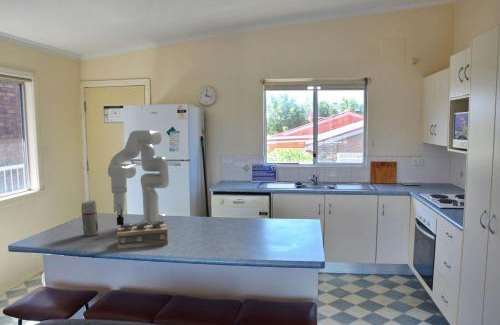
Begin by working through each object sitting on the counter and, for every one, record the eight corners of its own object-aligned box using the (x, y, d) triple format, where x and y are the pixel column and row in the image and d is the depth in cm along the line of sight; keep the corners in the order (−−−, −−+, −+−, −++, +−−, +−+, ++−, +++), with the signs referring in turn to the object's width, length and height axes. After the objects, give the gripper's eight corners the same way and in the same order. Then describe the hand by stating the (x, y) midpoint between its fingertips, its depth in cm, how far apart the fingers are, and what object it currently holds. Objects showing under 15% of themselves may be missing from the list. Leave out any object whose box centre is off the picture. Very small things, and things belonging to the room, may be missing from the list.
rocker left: (120, 226, 210) (120, 223, 210) (132, 226, 212) (132, 223, 212) (120, 228, 206) (120, 225, 206) (132, 228, 208) (132, 225, 207)
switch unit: (118, 241, 214) (117, 222, 213) (166, 237, 221) (165, 219, 220) (117, 249, 202) (116, 228, 201) (167, 244, 209) (167, 224, 208)
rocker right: (152, 225, 215) (151, 222, 214) (163, 221, 216) (162, 219, 216) (152, 227, 211) (151, 224, 210) (163, 223, 212) (163, 220, 212)
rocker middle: (137, 226, 212) (136, 224, 212) (148, 223, 214) (147, 220, 213) (137, 228, 208) (136, 226, 208) (148, 224, 210) (147, 222, 209)
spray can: (93, 237, 224) (91, 202, 222) (80, 236, 225) (78, 201, 223) (101, 233, 232) (100, 199, 230) (89, 232, 234) (87, 198, 232)
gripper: (112, 188, 212) (113, 221, 214) (110, 192, 198) (111, 228, 199) (127, 187, 214) (128, 220, 216) (126, 191, 200) (127, 227, 201)
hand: (120, 224), depth 207 cm, fingers closed
